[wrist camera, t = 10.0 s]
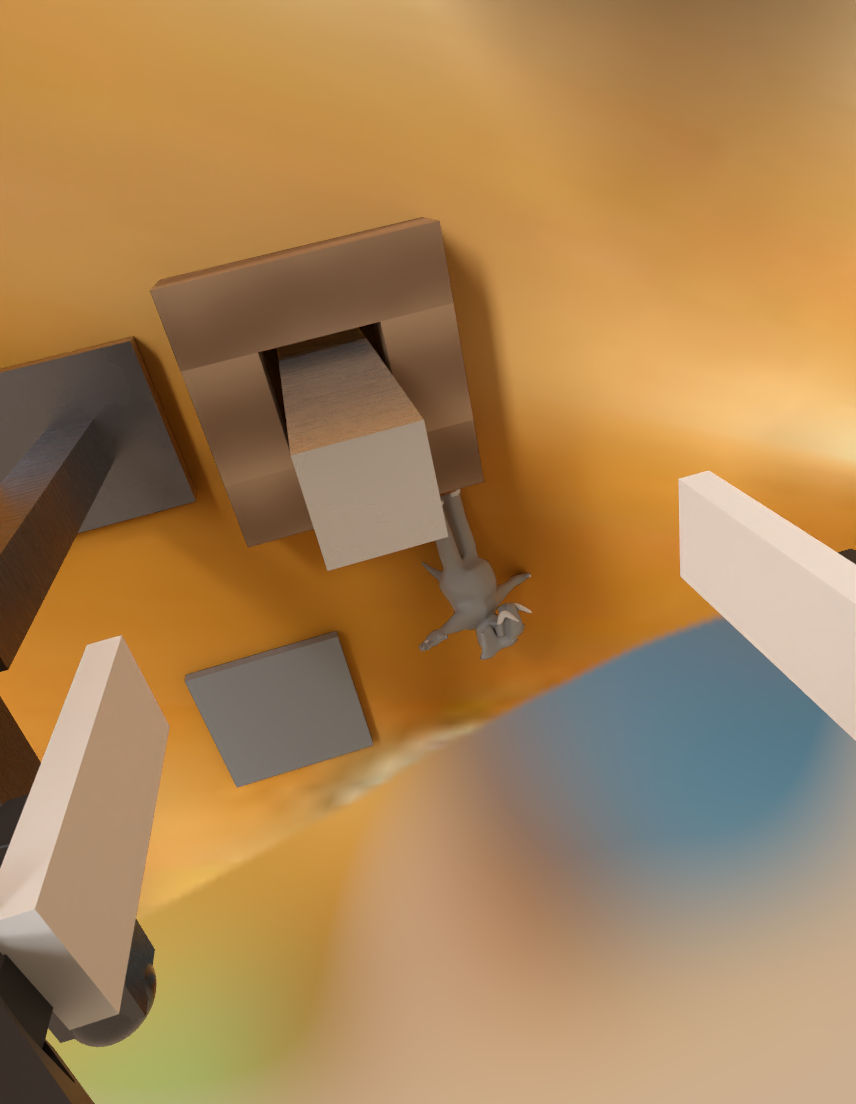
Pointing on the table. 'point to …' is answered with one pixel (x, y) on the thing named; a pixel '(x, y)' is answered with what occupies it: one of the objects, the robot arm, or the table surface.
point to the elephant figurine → (472, 587)
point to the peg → (357, 450)
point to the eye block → (305, 313)
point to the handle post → (75, 466)
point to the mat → (281, 708)
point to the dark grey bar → (9, 772)
